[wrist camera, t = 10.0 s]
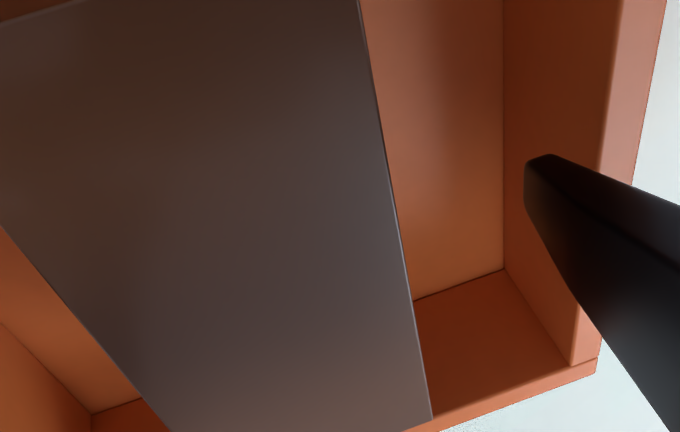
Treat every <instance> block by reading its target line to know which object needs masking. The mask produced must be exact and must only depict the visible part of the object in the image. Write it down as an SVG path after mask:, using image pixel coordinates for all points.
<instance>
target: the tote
mask: <svg viewBox="0 0 680 432" xmlns="http://www.w3.org/2000/svg"><path fill="white" fill-rule="evenodd" d="M666 2H667V0H360V5H361V11H362V17H363V22H364V28H365V34H366V39H367V45H368V51H369V56H370V62H371V68H372V73H373V79H374V85H375V90H376V96H377V102H378V107H379V113H380V119H381V124H382V130H383V136H384V141H385V147H386V153H387V158H388V164H389V170H390V175H391V181H392V187H393V192H394V198H395V204H396V209H397V215H398V221H399V226H400V232H401V238H402V243H403V249H404V255H405V260H406V266H407V272H408V277H409V283H410V289H411V294H412V300H413V306H414V311H415V317H416V323H417V328H418V334H419V340H420V345H421V351H422V357H423V362H424V368H425V374H426V379H427V385H428V391H429V396H430V402H431V408H432V413H433V420H432V421H429V422H426V423H424V424H421V425H418V426H416V427H413V428H410V429H408V430H405V431H402V432H439V431H442V430H444V429H447V428H450V427H452V426H455V425H458V424H461V423H463V422H466V421H469V420H471V419H474V418H477V417H479V416H482V415H485V414H487V413H490V412H493V411H495V410H498V409H501V408H503V407H506V406H509V405H511V404H514V403H517V402H520V401H522V400H525V399H528V398H530V397H533V396H536V395H538V394H541V393H544V392H546V391H549V390H552V389H554V388H557V387H560V386H562V385H565V384H568V383H570V382H573V381H576V380H579V379H581V378H584V377H587V376H589V375H592V374H594V373H595V371H596V366H597V360H598V358H597V356H598V355H599V351H600V346H601V341H602V336H601V334H600V333H599V331H598V330H597V329H596V327H595V326H594V324H593V323H592V322H591V320H590V319H589V317H588V316H587V315H586V313H585V312H584V310H583V309H582V308H581V306H580V305H579V303H578V302H577V301H576V299H575V298H574V296H573V295H572V293H571V292H570V290H569V289H568V287H567V285H566V283H565V282H564V280H563V278H562V276H561V275H560V273H559V271H558V269H557V267H556V265H555V264H554V262H553V260H552V258H551V256H550V254H549V253H548V251H547V249H546V247H545V245H544V243H543V242H542V240H541V238H540V236H539V234H538V232H537V231H536V229H535V227H534V225H533V223H532V221H531V220H530V218H529V216H528V214H527V212H526V210H525V207H524V203H523V174H524V165H525V163H526V162H527V161H528V160H530V159H533V158H536V157H539V156H542V155H545V154H554V155H557V156H560V157H562V158H565V159H567V160H569V161H572V162H574V163H577V164H579V165H582V166H584V167H586V168H589V169H591V170H594V171H596V172H599V173H601V174H604V175H606V176H608V177H611V178H613V179H616V180H618V181H621V182H623V183H626V184H628V185H630V186H631V185H632V180H633V174H634V169H635V164H636V159H637V153H638V148H639V143H640V138H641V133H642V127H643V122H644V117H645V112H646V107H647V101H648V96H649V91H650V86H651V81H652V75H653V70H654V65H655V60H656V55H657V49H658V44H659V39H660V34H661V28H662V23H663V18H664V13H665V8H666ZM0 432H170V430H169V429H168V428H167V427H166V426H165V424H164V423H163V422H162V421H161V420H160V418H159V417H158V416H157V415H156V413H155V412H154V411H153V410H152V409H151V407H150V406H149V405H148V404H147V403H146V401H145V400H144V399H143V398H142V397H141V395H140V394H139V393H138V392H137V391H136V389H135V388H134V387H133V386H132V384H131V383H130V382H129V381H128V380H127V378H126V377H125V376H124V375H123V374H122V372H121V371H120V370H119V369H118V368H117V366H116V365H115V364H114V363H113V362H112V360H111V359H110V358H109V357H108V356H107V354H106V353H105V352H104V351H103V349H102V348H101V347H100V346H99V345H98V343H97V342H96V341H95V340H94V339H93V337H92V336H91V335H90V334H89V333H88V331H87V330H86V329H85V328H84V327H83V325H82V324H81V323H80V322H79V320H78V319H77V318H76V317H75V316H74V314H73V313H72V312H71V311H70V310H69V308H68V307H67V306H66V305H65V304H64V302H63V301H62V300H61V299H60V298H59V296H58V295H57V294H56V293H55V291H54V290H53V289H52V288H51V287H50V285H49V284H48V283H47V282H46V281H45V279H44V278H43V277H42V276H41V275H40V273H39V272H38V271H37V270H36V269H35V267H34V266H33V265H32V264H31V262H30V261H29V260H28V259H27V258H26V256H25V255H24V254H23V253H22V252H21V250H20V249H19V248H18V247H17V246H16V244H15V243H14V242H13V241H12V240H11V238H10V237H9V236H8V235H7V234H6V232H5V231H4V230H3V229H2V227H1V226H0Z"/></svg>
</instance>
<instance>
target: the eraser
mask: <svg viewBox="0 0 680 432" xmlns="http://www.w3.org/2000/svg"><path fill="white" fill-rule="evenodd" d="M0 226H1V227H2V229H3V230H4V231H5V232H6V234H7V235H8V236H9V237H10V238H11V240H12V241H13V242H14V243H15V244H16V246H17V247H18V248H19V249H20V250H21V252H22V253H23V254H24V255H25V256H26V258H27V259H28V260H29V261H30V262H31V264H32V265H33V266H34V267H35V269H36V270H37V271H38V272H39V273H40V275H41V276H42V277H43V278H44V279H45V281H46V282H47V283H48V284H49V285H50V287H51V288H52V289H53V290H54V291H55V293H56V294H57V295H58V296H59V298H60V299H61V300H62V301H63V302H64V304H65V305H66V306H67V307H68V308H69V310H70V311H71V312H72V313H73V314H74V316H75V317H76V318H77V319H78V320H79V322H80V323H81V324H82V325H83V327H84V328H85V329H86V330H87V331H88V333H89V334H90V335H91V336H92V337H93V339H94V340H95V341H96V342H97V343H98V345H99V346H100V347H101V348H102V349H103V351H104V352H105V353H106V354H107V356H108V357H109V358H110V359H111V360H112V362H113V363H114V364H115V365H116V366H117V368H118V369H119V370H120V371H121V372H122V374H123V375H124V376H125V377H126V378H127V380H128V381H129V382H130V383H131V384H132V386H133V387H134V388H135V389H136V391H137V392H138V393H139V394H140V395H141V397H142V398H143V399H144V400H145V401H146V403H147V404H148V405H149V406H150V407H151V409H152V410H153V411H154V412H155V413H156V415H157V416H158V417H159V418H160V420H161V421H162V422H163V423H164V424H165V426H166V427H167V428H168V429H169V430H170V432H402V431H405V430H408V429H410V428H413V427H416V426H418V425H421V424H424V423H426V422H429V421H432V420H433V413H432V408H431V402H430V396H429V391H428V385H427V379H426V374H425V368H424V362H423V357H422V351H421V345H420V340H419V334H418V328H417V323H416V317H415V311H414V306H413V300H412V294H411V289H410V283H409V277H408V272H407V266H406V260H405V255H404V249H403V243H402V238H401V232H400V226H399V221H398V215H397V209H396V204H395V198H394V192H393V187H392V181H391V175H390V170H389V164H388V158H387V153H386V147H385V141H384V136H383V130H382V124H381V119H380V113H379V107H378V102H377V96H376V90H375V85H374V79H373V73H372V68H371V62H370V56H369V51H368V45H367V39H366V34H365V28H364V22H363V17H362V11H361V5H360V0H0Z"/></svg>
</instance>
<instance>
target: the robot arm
mask: <svg viewBox="0 0 680 432" xmlns="http://www.w3.org/2000/svg"><path fill="white" fill-rule="evenodd" d="M523 203H524V207H525V210H526V212H527V214H528V216H529V218H530V220H531V221H532V223H533V225H534V227H535V229H536V231H537V232H538V234H539V236H540V238H541V240H542V242H543V243H544V245H545V247H546V249H547V251H548V253H549V254H550V256H551V258H552V260H553V262H554V264H555V265H556V267H557V269H558V271H559V273H560V275H561V276H562V278H563V280H564V282H565V283H566V285H567V287H568V289H569V290H570V292H571V293H572V295H573V296H574V298H575V299H576V301H577V302H578V303H579V305H580V306H581V308H582V309H583V310H584V312H585V313H586V315H587V316H588V317H589V319H590V320H591V322H592V323H593V324H594V326H595V327H596V329H597V330H598V331H599V333H600V334H601V336H602V337H603V339H604V340H605V341H606V343H607V344H608V346H609V347H610V348H611V350H612V351H613V353H614V354H615V355H616V357H617V358H618V360H619V361H620V362H621V364H622V365H623V367H624V368H625V369H626V371H627V372H628V374H629V375H630V376H631V378H632V379H633V381H634V382H635V384H636V385H637V386H638V388H639V389H640V391H641V392H642V393H643V395H644V396H645V398H646V399H647V400H648V402H649V403H650V405H651V406H652V407H653V409H654V410H655V412H656V413H657V414H658V416H659V417H660V419H661V420H662V422H663V423H664V424H665V426H666V427H667V429H668V430H669V431H670V432H680V206H679V205H677V204H674V203H672V202H670V201H667V200H665V199H662V198H660V197H657V196H655V195H652V194H650V193H648V192H645V191H643V190H640V189H638V188H635V187H633V186H630V185H628V184H626V183H623V182H621V181H618V180H616V179H613V178H611V177H608V176H606V175H604V174H601V173H599V172H596V171H594V170H591V169H589V168H586V167H584V166H582V165H579V164H577V163H574V162H572V161H569V160H567V159H565V158H562V157H560V156H557V155H554V154H545V155H542V156H539V157H536V158H533V159H530V160H528V161H527V162H526V163H525V165H524V174H523Z"/></svg>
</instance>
